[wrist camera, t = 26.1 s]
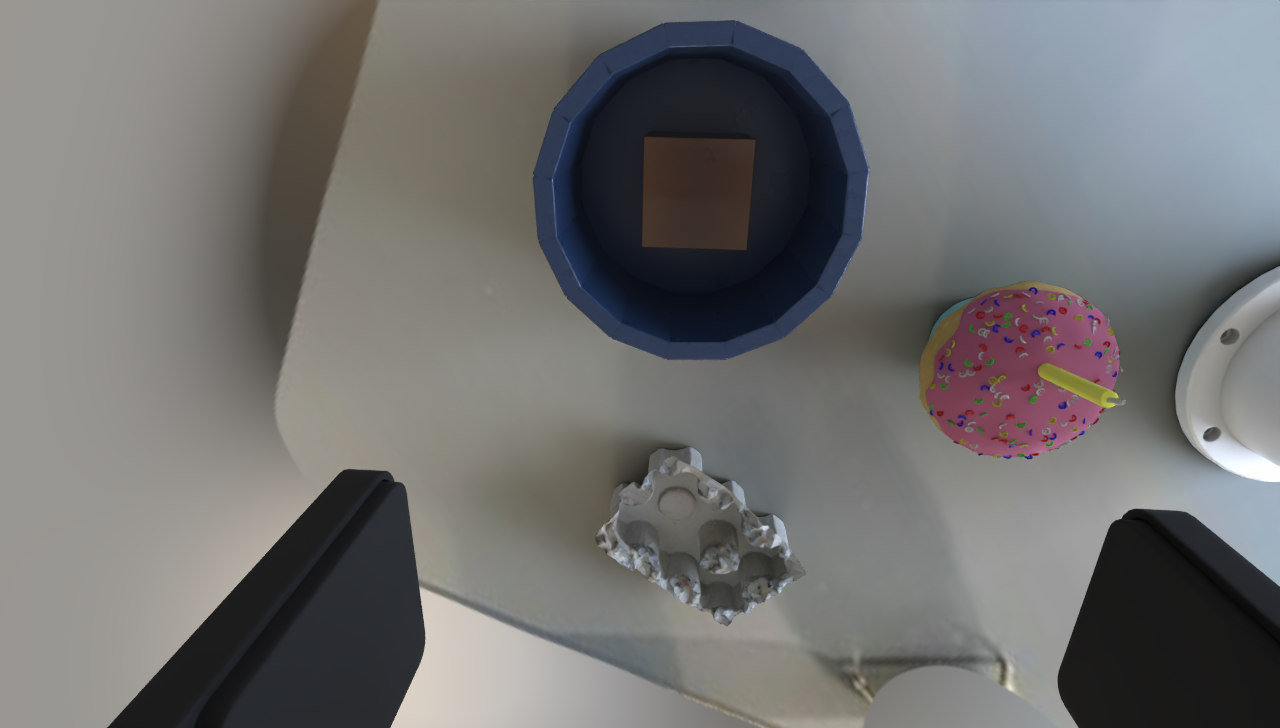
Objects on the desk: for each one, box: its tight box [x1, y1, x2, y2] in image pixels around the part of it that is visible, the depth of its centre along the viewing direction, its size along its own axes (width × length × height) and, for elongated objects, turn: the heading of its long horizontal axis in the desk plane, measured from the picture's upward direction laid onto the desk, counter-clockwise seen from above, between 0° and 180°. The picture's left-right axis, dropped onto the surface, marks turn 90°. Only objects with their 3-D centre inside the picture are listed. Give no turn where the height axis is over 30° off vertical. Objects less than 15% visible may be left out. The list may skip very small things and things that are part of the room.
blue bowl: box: [533, 20, 869, 360], centre depth 29 cm, size 13×13×8 cm
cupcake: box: [920, 281, 1126, 459], centre depth 29 cm, size 9×8×12 cm
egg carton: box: [595, 447, 806, 626], centre depth 38 cm, size 11×8×4 cm
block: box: [641, 131, 756, 251], centre depth 30 cm, size 5×5×5 cm
